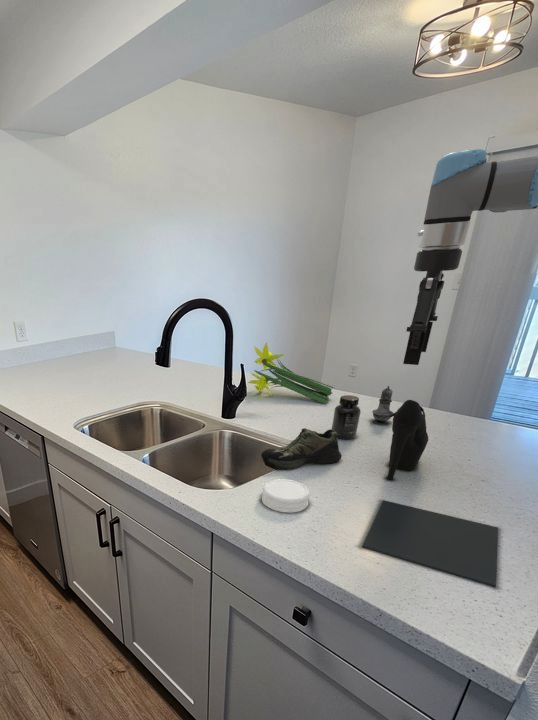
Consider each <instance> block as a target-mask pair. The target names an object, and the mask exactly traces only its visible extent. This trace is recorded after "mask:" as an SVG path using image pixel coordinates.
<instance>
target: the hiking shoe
mask: <svg viewBox="0 0 538 720" xmlns="http://www.w3.org/2000/svg"><path fill="white" fill-rule="evenodd" d="M331 429H332V428H331ZM331 429H327V430H326V431H324V432H323V433H319V432H317V431H315V430H312V429H309V428H308V429H307V428H306V427H305V428H302V429H301V431H300V432H299V434H298V435H297V437H295V438H294V439H293V440H292V441H290V442H289V443H288V444H287V445H286V446H281V447H276V448H267V449H265V450H263V451H262V452H261V453H260V456H261V459H262V461H263V463H264V465H265V466H266V467H268V468H269V469H271V470H281V471H283V470H284V471H286V470H294V469H297V468H300V467H301V466H303V465H305V464H314V465H331V464H335V463H337V462H339V461H340V460H341V459H342V453H341V452H340V447H339V439H338V436H340V435H339V434H337V433H336V432H335V431H334V430H331Z"/></svg>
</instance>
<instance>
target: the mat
mask: <svg viewBox="0 0 538 720" xmlns="http://www.w3.org/2000/svg"><path fill="white" fill-rule="evenodd" d="M380 504H381V505H380V506H379V509H378V511H377V513H376V515H375V517H374V519H373V522H372V524H371V526H370V528H369V530H368V533H367V535H366V537H365V539H364V541H363V543H362V546H361V548H362V549H366V550H370V551H372V552H375V553H376V552H377V553H380V554H383V555H386V556H390V557H392V558H396V559H398V560H399V559H400V560H403V561H406V562H409V563H413V564H415V565H416V564H417V565H419V566H423V567H427V568H430V569H433V570H436V571H439V572H442V573H446V574H450V575H452V576H457V577H460V578H462V579H467V580H470V581H472V582H476V583H480V584H482V585H486V586H490V587H493V588H496V587H497V565H498V563H497V562H498V537H499V535H498V534H499V528H498V526H493V525H489V524H485V523H481V522H476V521H472V520H468V519H464V518H460V517H455V516H451V515H446V514H442V513H438V512H435V511H430V510H427V509H426V510H425V509H422V508H417V507H414V506H409V505H405V504H401V503H396V502H392V501H388V500H385V499H384V500H383V501H382V502H381V503H380Z"/></svg>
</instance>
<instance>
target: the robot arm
mask: <svg viewBox="0 0 538 720" xmlns="http://www.w3.org/2000/svg"><path fill="white" fill-rule="evenodd" d="M487 155H488V153H487V150H485V149H482V148H478V149H476V148H475V149H467V150H461V151H456V152H451V153H447V154H445V155H443V156H442V157H441V158H440V159H439V160H438V161H437V162H436V165H435V169H434V173H433V177H432V181H431V185H430V190H429V194H428V200H427V204H426V210H425V214H424V219H423V225H422V230H419V231H418V232H417V236H418V237H420V239H419V244H418V247H419V248H421V250H418V252H416V257H415V262H414V266H413V270H414V272H426V275H425V277H423V278H422V280H421V281H420V282H419V286H418V294H417V298H416V306H415V309H414V313H413V316H412V320H411V324H410V326H407V327H406V332H409V335H408V341H407V344H406V349H405V354H404V358H403V362H402V364H403V365H412V366H418V365H419V364H420V360H421V356H422V353H427V348H428V344H429V340H430V336H431V332H432V329H433V324H434V322H438V319H439V318H438V317H439V316H438V315H436V314H437V313H436V310H437V306H438V301H439V299H440V298H441V293H442V290H443V288H444V286H445V282H446V280H445V279H443V278H445V277H444V276H445V275H444V272H448V271H455V270H457V269H458V268H459V266H460V262H461V259H462V255H463V250H462V248H461V246H464V245H465V243H466V239H467V235H468V233H469V229H470V224H471V219H472V214H473V212H476V211H477V212H481V211H489V212H490V213H506V212H509V211H525V210H534V209H536V210H537V209H538V155H535V156H534V155H533V156H526V157H519V158H513V159H512V158H511V159H504V160H497V161H491V160H490V161H487V160H488V159H487V157H488V156H487Z"/></svg>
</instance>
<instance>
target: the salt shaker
mask: <svg viewBox="0 0 538 720" xmlns="http://www.w3.org/2000/svg"><path fill="white" fill-rule="evenodd" d="M392 397H393V389H391V388H390V386H389V385H388V386H386V388H384V389H382V390H381V395H380V398H379V399H378V402H379V403H378V406H377V409H376V408H375V409H373V410H372V411H371V412H372V417H373V418H374V419H372V423H373V424H375V425H381V426H387V425H389V424H390V421H389V420H390V419H391V418H392V417H390V415H392V414H393V413H394V412H393V411H392V410H390V408H391V403H392V402H393V401H392Z"/></svg>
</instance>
